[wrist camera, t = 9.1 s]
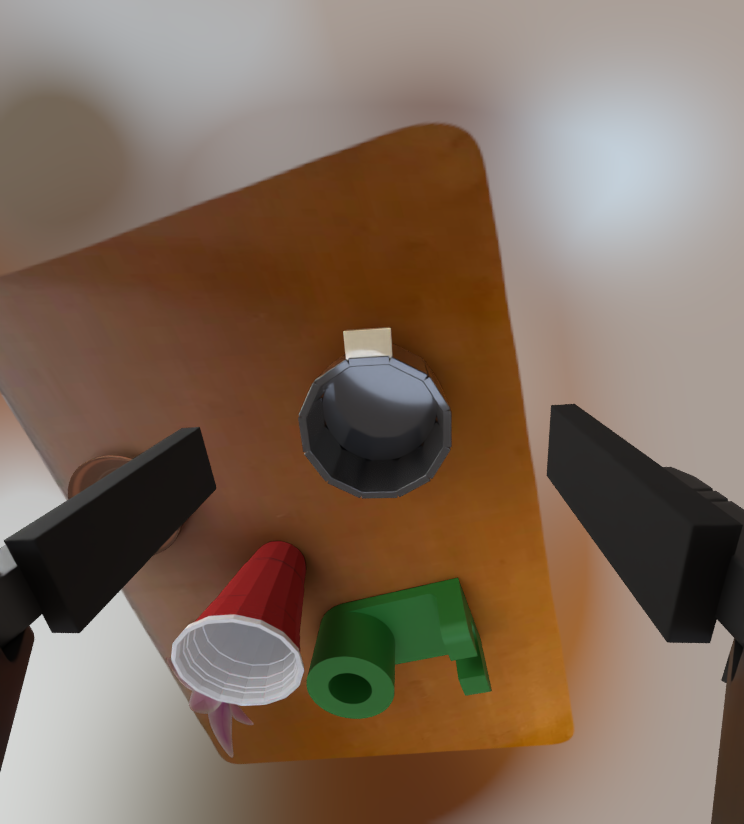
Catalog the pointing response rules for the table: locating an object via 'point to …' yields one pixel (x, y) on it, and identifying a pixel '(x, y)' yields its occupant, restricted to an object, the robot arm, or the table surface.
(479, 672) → the green bracket
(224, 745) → the lily
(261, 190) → the table surface
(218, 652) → the plastic cup
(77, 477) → the cup and saucer
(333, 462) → the cooking pot
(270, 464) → the table surface
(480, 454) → the table surface
